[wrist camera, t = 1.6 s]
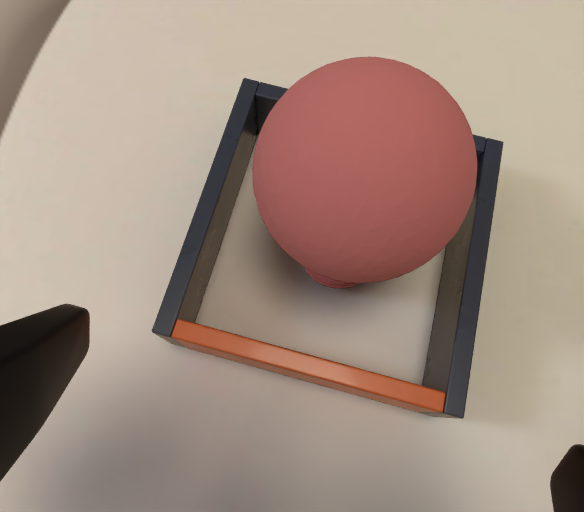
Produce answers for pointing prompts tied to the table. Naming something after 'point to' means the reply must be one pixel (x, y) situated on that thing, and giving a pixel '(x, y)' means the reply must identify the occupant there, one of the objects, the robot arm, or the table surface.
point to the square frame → (424, 399)
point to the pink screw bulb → (364, 170)
